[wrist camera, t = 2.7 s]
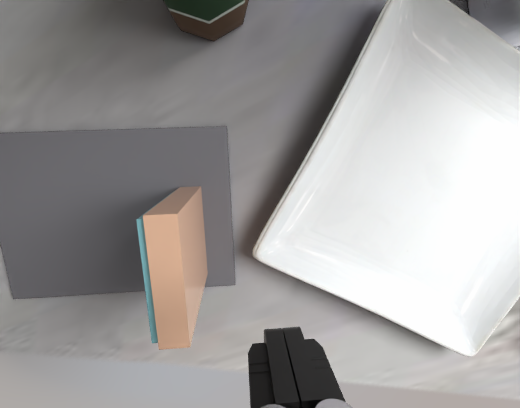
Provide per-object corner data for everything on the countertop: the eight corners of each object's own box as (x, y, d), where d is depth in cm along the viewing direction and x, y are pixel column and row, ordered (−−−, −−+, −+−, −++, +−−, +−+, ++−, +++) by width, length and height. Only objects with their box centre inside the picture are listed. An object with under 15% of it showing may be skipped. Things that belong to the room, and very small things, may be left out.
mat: (226, 126, 27) (226, 126, 27) (235, 282, 31) (235, 284, 30) (-21, 133, 26) (-26, 133, 25) (17, 296, 29) (13, 299, 29)
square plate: (383, -10, 26) (407, -36, 22) (595, 134, 31) (645, 133, 27) (247, 245, 30) (248, 260, 27) (451, 340, 35) (477, 364, 31)
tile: (201, 186, 28) (177, 213, 17) (207, 273, 30) (190, 347, 19) (174, 187, 28) (133, 215, 17) (183, 274, 30) (151, 350, 19)
